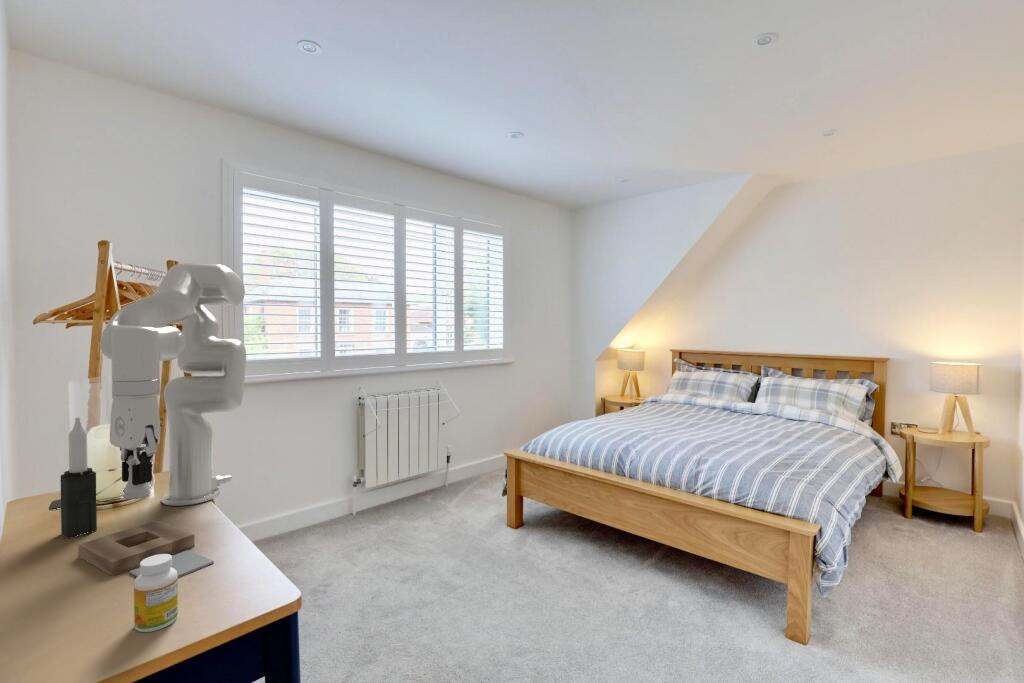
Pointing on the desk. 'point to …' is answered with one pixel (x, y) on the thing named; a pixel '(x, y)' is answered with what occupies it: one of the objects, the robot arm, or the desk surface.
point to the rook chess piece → (135, 490)
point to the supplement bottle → (155, 594)
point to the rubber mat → (184, 563)
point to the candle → (78, 488)
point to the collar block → (134, 546)
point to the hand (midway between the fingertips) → (137, 480)
